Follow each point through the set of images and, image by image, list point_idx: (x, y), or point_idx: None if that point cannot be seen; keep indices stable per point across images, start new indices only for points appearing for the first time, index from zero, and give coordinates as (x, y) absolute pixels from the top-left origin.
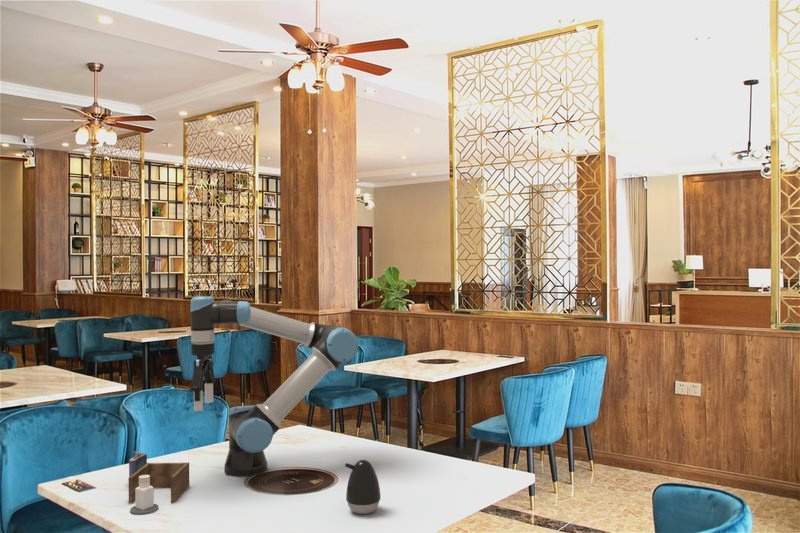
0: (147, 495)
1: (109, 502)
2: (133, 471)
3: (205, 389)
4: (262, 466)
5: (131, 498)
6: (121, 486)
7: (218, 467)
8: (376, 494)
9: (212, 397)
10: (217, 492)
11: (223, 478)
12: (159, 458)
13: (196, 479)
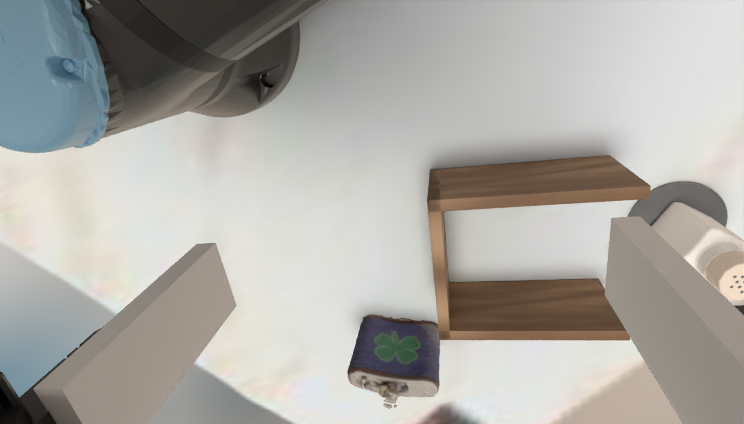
0: (725, 229)
1: None
2: (436, 357)
3: (157, 398)
4: None
5: (603, 288)
6: None
7: (214, 149)
8: None
9: (188, 271)
10: (496, 39)
11: (329, 82)
12: None
13: (351, 174)
